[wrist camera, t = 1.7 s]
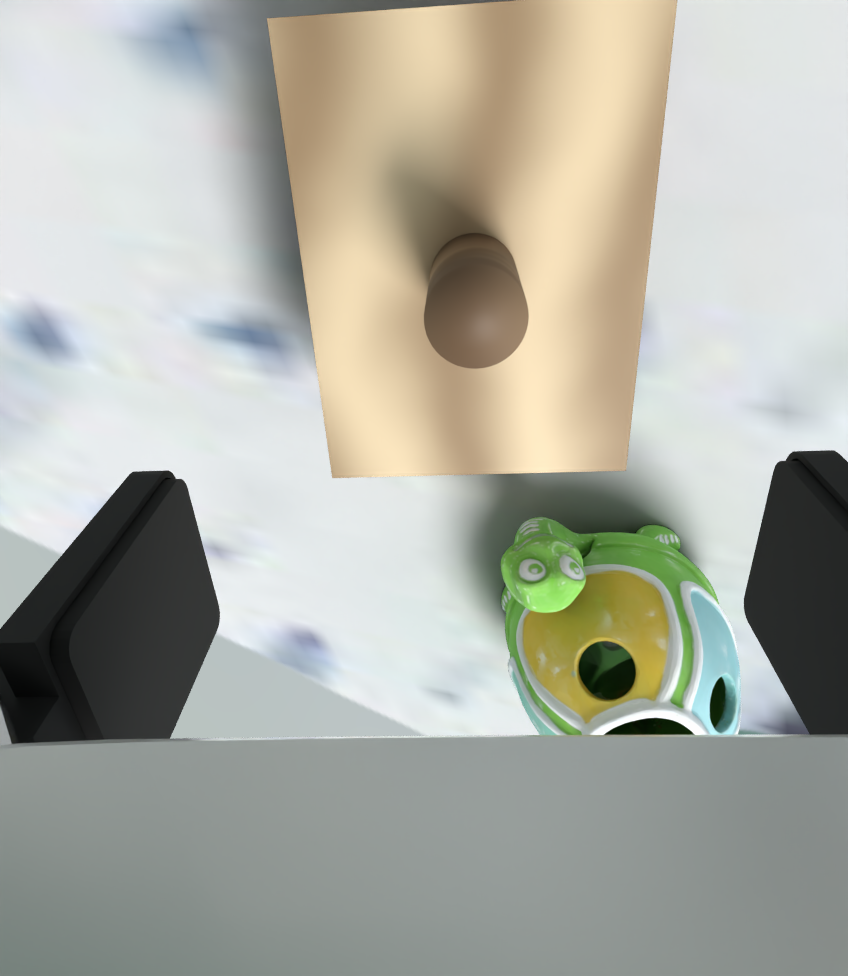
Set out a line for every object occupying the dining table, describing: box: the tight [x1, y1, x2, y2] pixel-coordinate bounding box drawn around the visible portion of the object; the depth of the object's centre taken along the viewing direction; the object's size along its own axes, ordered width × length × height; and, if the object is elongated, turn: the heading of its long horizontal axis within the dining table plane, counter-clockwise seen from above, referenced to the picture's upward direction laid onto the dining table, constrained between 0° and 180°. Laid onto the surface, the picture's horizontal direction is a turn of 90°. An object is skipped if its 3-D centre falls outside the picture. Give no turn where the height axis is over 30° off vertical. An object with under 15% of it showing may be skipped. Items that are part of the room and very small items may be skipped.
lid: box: [267, 0, 677, 478], centre depth 23 cm, size 13×17×6 cm
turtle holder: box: [501, 517, 741, 735], centre depth 37 cm, size 12×18×12 cm
